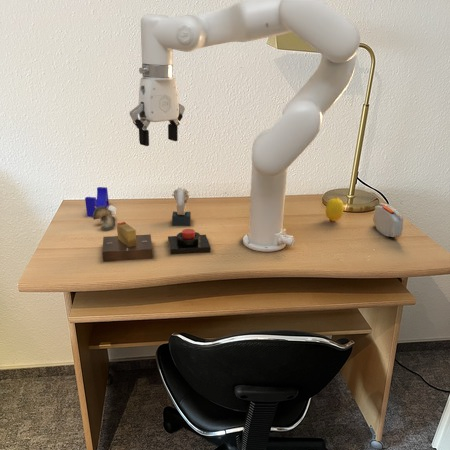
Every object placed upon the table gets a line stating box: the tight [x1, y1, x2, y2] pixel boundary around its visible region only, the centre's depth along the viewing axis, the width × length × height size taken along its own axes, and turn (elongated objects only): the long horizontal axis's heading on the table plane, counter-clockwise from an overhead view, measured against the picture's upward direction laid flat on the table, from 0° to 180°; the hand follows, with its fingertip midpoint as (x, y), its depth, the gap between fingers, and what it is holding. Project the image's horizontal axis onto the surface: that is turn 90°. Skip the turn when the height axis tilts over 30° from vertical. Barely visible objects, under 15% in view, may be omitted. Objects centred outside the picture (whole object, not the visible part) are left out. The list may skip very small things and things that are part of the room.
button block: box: [167, 231, 211, 256], centre depth 138 cm, size 11×9×4 cm
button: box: [181, 228, 196, 239], centre depth 137 cm, size 4×4×2 cm
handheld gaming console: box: [372, 202, 404, 238], centre depth 149 cm, size 14×3×8 cm, turn 12°
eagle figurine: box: [92, 204, 117, 232], centre depth 150 cm, size 8×7×9 cm
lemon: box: [325, 196, 344, 222], centre depth 157 cm, size 6×6×8 cm
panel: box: [101, 233, 154, 263], centre depth 134 cm, size 13×11×3 cm
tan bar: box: [116, 221, 137, 247], centre depth 132 cm, size 6×2×5 cm, turn 36°
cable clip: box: [84, 186, 110, 218], centre depth 161 cm, size 12×4×6 cm, turn 172°
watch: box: [171, 187, 192, 227], centre depth 152 cm, size 6×8×11 cm
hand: (158, 142), depth 130 cm, fingers open, 9 cm apart
